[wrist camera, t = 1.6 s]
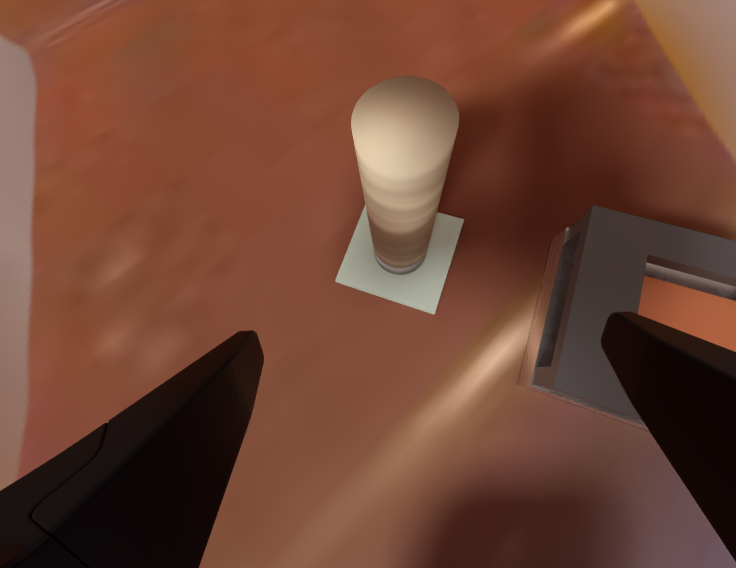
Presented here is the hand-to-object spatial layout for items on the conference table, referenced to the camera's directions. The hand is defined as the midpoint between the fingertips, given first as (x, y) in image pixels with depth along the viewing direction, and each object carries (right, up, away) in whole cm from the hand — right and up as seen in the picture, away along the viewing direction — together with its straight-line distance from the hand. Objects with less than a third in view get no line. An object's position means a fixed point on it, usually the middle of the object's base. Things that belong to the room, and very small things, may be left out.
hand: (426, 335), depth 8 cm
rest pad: (+1, +4, +14) cm, 15 cm away
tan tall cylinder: (+1, +4, +14) cm, 15 cm away
